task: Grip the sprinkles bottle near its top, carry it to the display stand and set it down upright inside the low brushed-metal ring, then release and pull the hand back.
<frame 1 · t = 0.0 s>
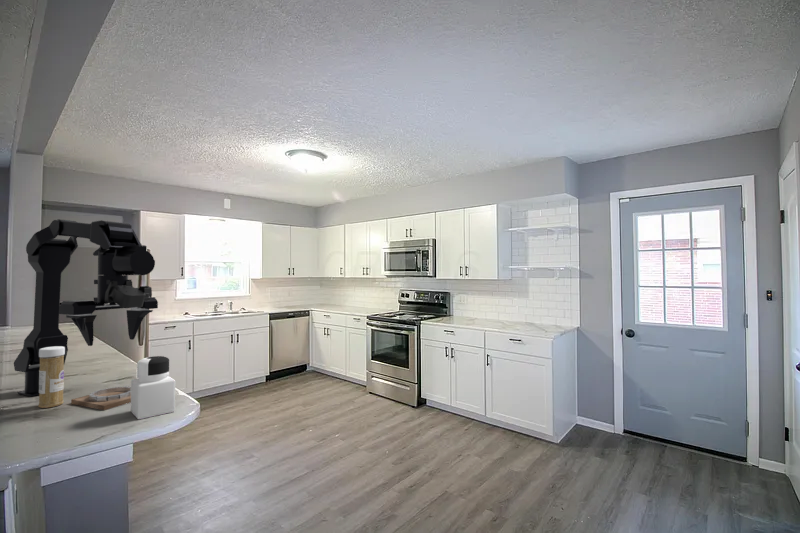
hand: (112, 342, 92), 15 cm above the countertop, fingers open, 9 cm apart
display stand: (112, 399, 96), on the countertop
sprinkles bottle: (51, 406, 92), on the countertop
medicine bottle: (152, 412, 88), on the countertop
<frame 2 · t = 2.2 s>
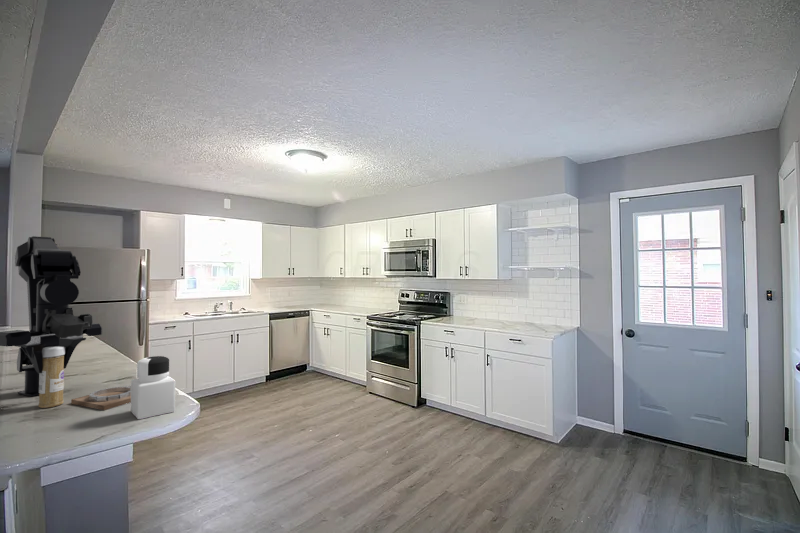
hand: (51, 370, 92), 8 cm above the countertop, fingers closed on sprinkles bottle, 4 cm apart
sprinkles bottle: (51, 406, 92), on the countertop, touching gripper
everything else where it was.
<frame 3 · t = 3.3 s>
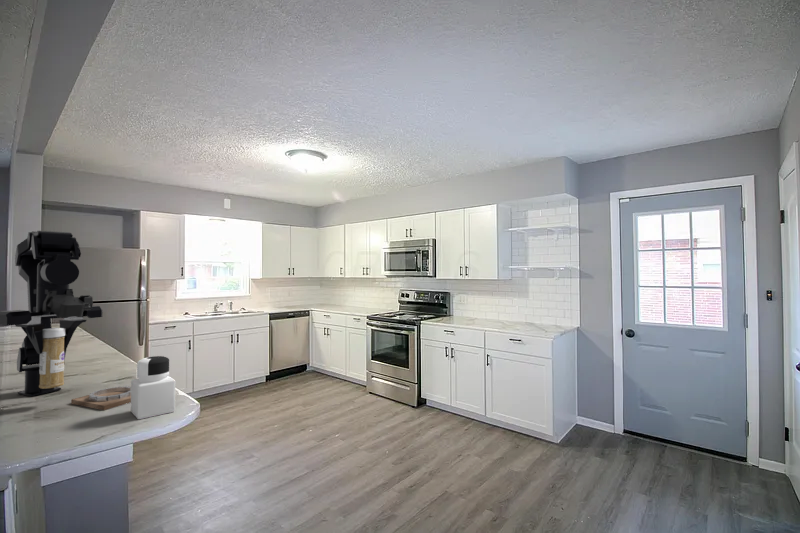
hand: (52, 351, 92), 12 cm above the countertop, fingers closed on sprinkles bottle, 4 cm apart
sprinkles bottle: (51, 387, 92), point 4 cm above the countertop, touching gripper
everything else where it was.
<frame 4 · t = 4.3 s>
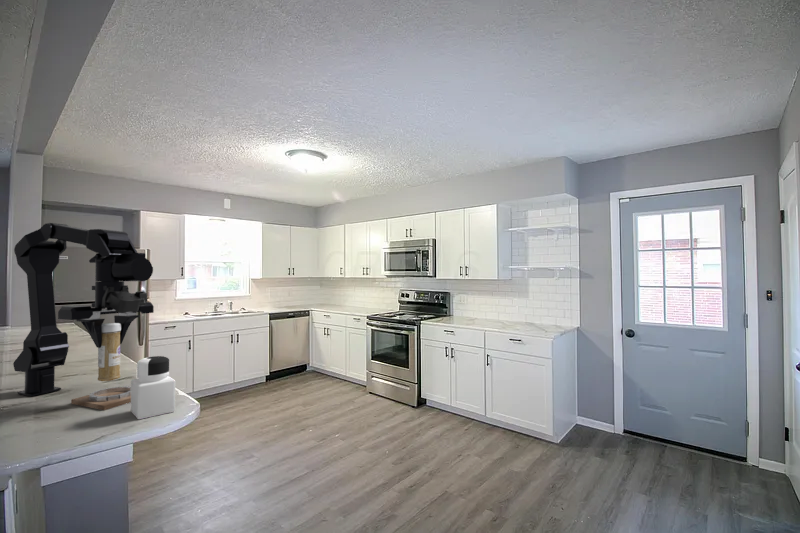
hand: (109, 345, 96), 13 cm above the countertop, fingers closed on sprinkles bottle, 4 cm apart
sprinkles bottle: (109, 380, 96), point 5 cm above the countertop, touching gripper
everything else where it was.
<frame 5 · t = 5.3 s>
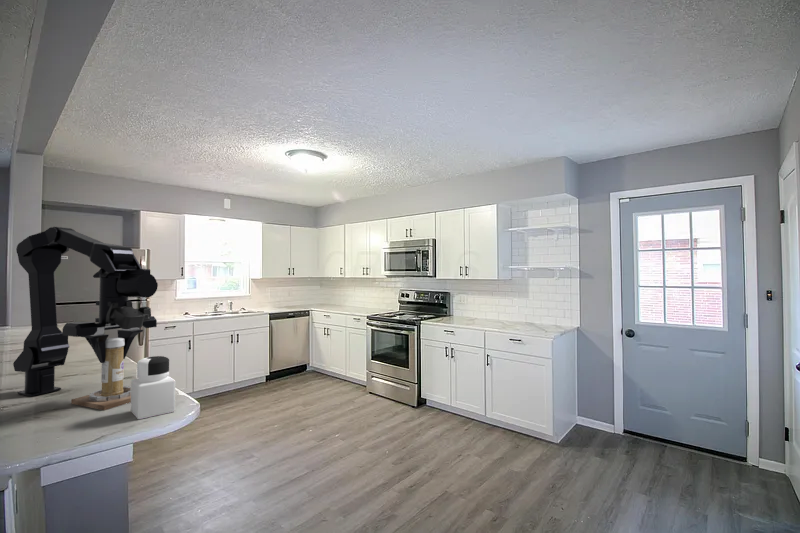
hand: (112, 360, 96), 9 cm above the countertop, fingers closed on sprinkles bottle, 4 cm apart
sprinkles bottle: (112, 394, 96), point 1 cm above the countertop, touching gripper
everything else where it was.
when the fingers open (9 cm above the countertop, at t = 6.2 s): sprinkles bottle stays where it is, resting on display stand.
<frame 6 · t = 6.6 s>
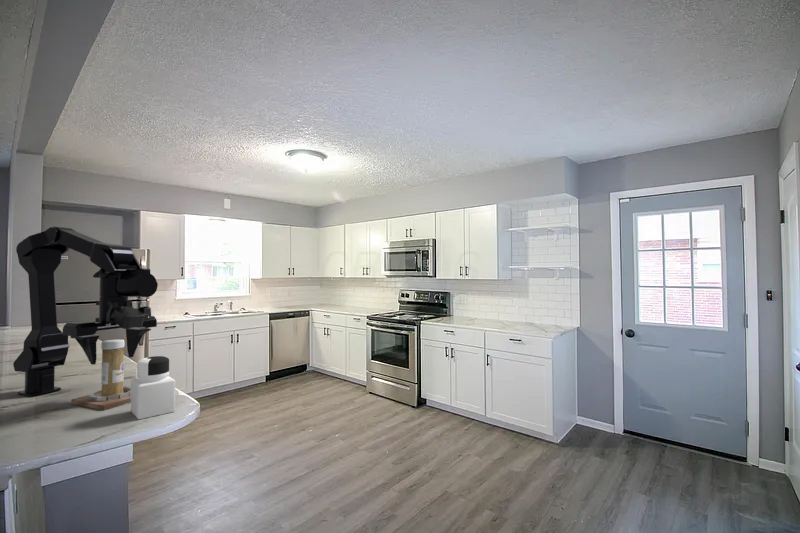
hand: (112, 360, 96), 9 cm above the countertop, fingers open, 8 cm apart
sprinkles bottle: (112, 396, 96), point 1 cm above the countertop, touching display stand
everything else where it was.
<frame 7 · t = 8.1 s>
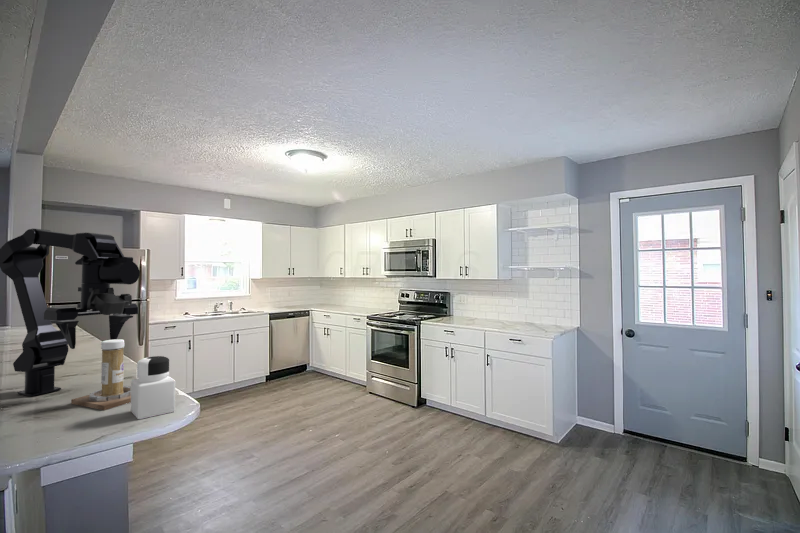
hand: (93, 345, 99), 13 cm above the countertop, fingers open, 9 cm apart
nothing on the countertop moved.
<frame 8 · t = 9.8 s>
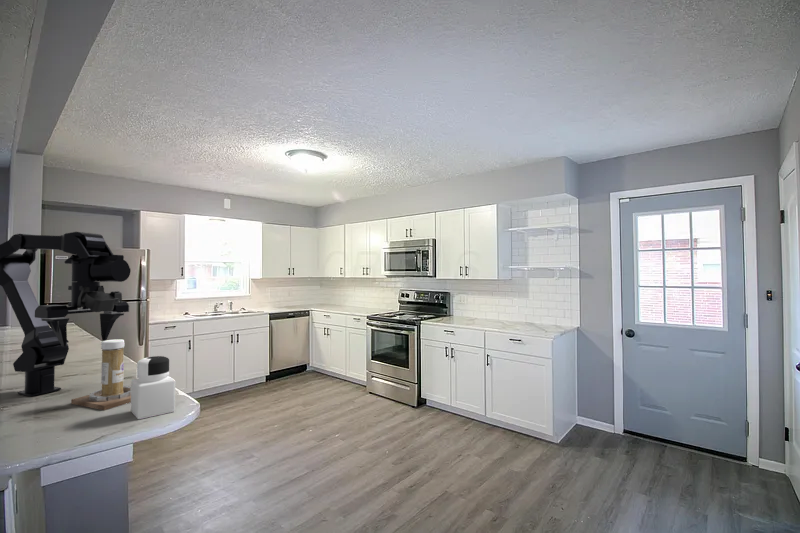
hand: (85, 343, 101), 13 cm above the countertop, fingers open, 9 cm apart
nothing on the countertop moved.
at the end: sprinkles bottle 0.1 cm off-centre on the display stand, point 0.8 cm above the display stand's base; sprinkles bottle tilted 0°; the gripper is holding nothing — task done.
